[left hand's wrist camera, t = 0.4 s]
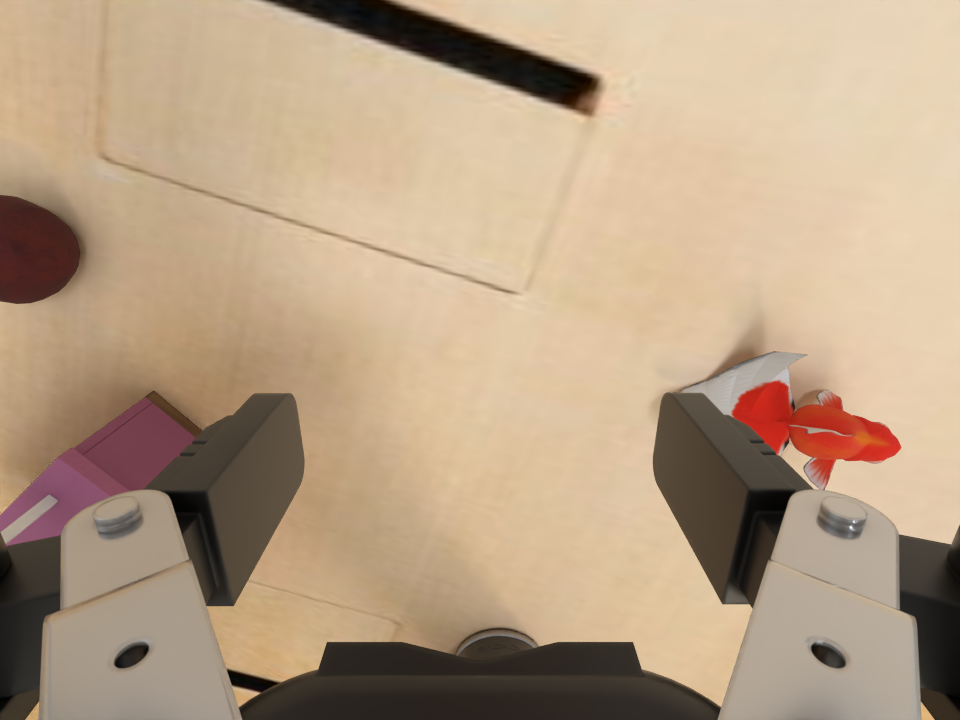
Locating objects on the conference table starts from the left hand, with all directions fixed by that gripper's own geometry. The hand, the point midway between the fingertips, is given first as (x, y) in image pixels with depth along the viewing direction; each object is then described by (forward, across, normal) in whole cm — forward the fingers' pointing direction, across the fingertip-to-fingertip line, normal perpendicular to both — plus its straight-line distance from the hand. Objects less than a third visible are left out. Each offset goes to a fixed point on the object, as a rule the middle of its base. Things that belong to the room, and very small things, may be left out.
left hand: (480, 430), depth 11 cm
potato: (+29, -32, 0) cm, 43 cm away
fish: (+29, +23, -14) cm, 40 cm away
